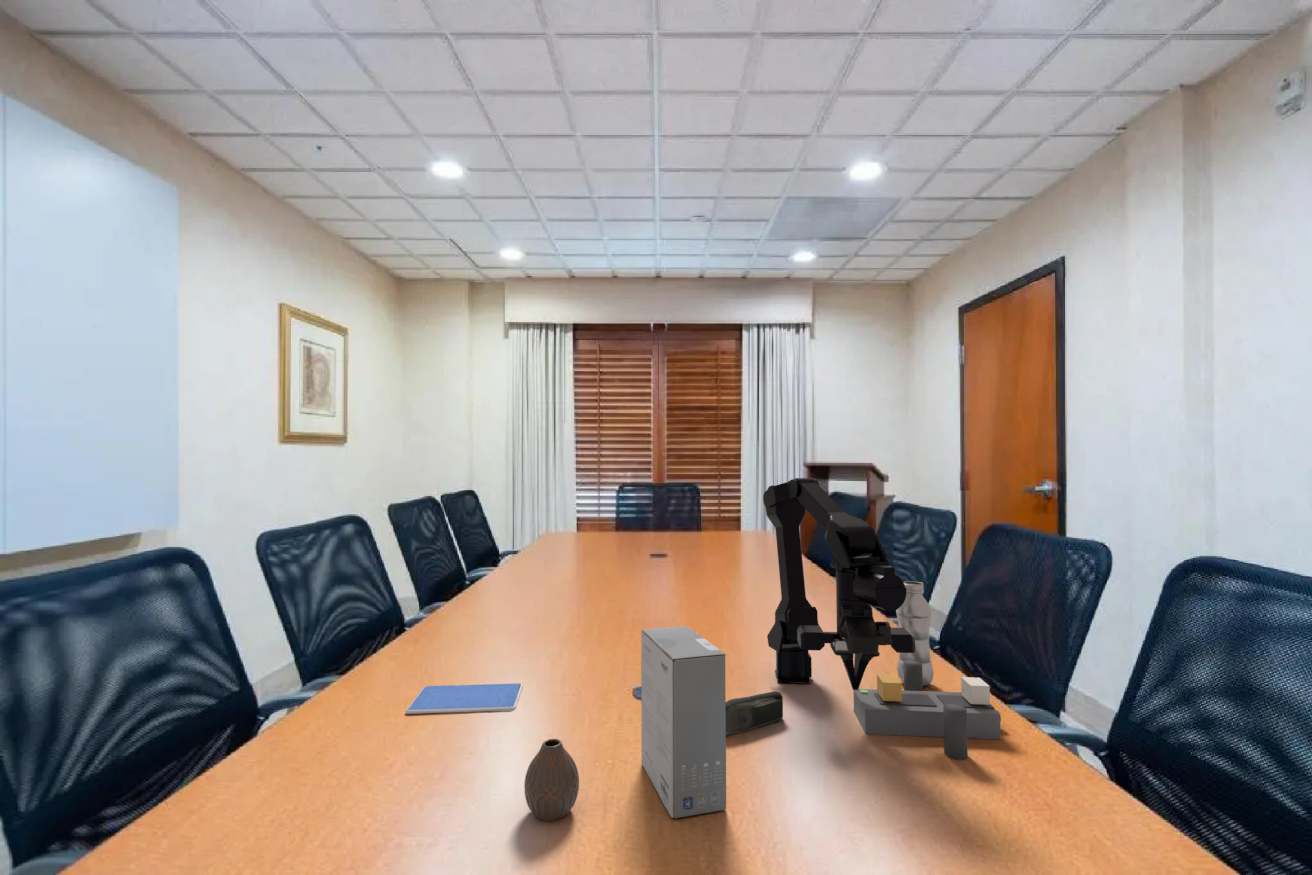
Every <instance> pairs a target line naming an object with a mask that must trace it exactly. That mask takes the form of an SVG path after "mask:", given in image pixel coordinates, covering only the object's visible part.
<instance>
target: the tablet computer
mask: <svg viewBox="0 0 1312 875" xmlns="http://www.w3.org/2000/svg"><path fill="white" fill-rule="evenodd" d="M523 689H524V684H522V683H518V682H517V683H492V684H491V683H490V684H487V683H486V684H457V685H456V684H454V685H452V684H451V685H426V686H423V688H422V689H421V690H420V692H419V693H418V694H417V696H416V697H415V698H414V700H412V703H410V704H409V706H408V707H407V708H406V711H405V713H406V714H408V715H416V714H417V715H418V714H444V713H445V714H446V713H447V714H449V713H450V714H452V713H454V714H455V713H477V712H481V713H483V712H512V711H515V710H516V709H517V707H518V704H519V701H520V698H521V694H522V693H523Z"/></svg>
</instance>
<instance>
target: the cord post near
mask: <svg viewBox="0 0 1312 875" xmlns="http://www.w3.org/2000/svg"><path fill="white" fill-rule="evenodd" d="M943 712H944V737H943V750H944V751H943V754H944V755H945V756H946V757H948V758H949V759H953V760H957V761H964V760H967V759H968V755H969V754H968V753H969V752H968V738H967V709H966V708H965V707H963V706H960V705H956V704H946V705H944V706H943Z"/></svg>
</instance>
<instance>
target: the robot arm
mask: <svg viewBox="0 0 1312 875" xmlns="http://www.w3.org/2000/svg"><path fill="white" fill-rule="evenodd" d="M762 497H763V498H762V500H763V505H764V507H765V513H766V517H767V518H768V520H769V521H770V522H771V524H772V525H773V527H774V530H775V537H776V548H777V559H778V560H777V561H778V572H779V573H778V574H779V582H780V593H781V595H780V596H781V599H780V601H779V604H778V606H777V608H776V609H775V612H774V624H773V626H772V627H771V629H770V630H769V632H768V633H767V636H766V637H767V643H768V647H769V648H771V649H773V650H774V651H775V669H774V673H775V677H776V680H777V681H776V682H777V683H780V684H781V683H784V684H811V678H812V672H813V670H812V656H811V654H810V653H809V651H821V650H822V649H824V647H825V644H829V645H830V648H831V650H832V652H833V654H834V655H836V656H840V659H841V660H842V663H843V665H844V668H845V671H846V674H847V677H848V679H849V683H850V685H851V690H853V691H854V690H858V689H860V685H861V683H862V680H863V677H864V674H865V671H866V668H868V664H869V663H870V661H872V659H874V658H877V657H880V655H881V654H880V652H879V649H880V648H879V646H890V648H891V649H893V651H895V652H896V653H897V654H899V653H914V652H915V640H914V637H913V636H912V635H911V634H910V633H908V632H907V631H906V630H905V629H904V628H899V627H891V624H890V622H889V621H875V619H874V616H873V613H874V612H873V607H875V608H879V609H881V610H884V611H888V612H893V611H896V610H897V609H898V608H900V607H901V606H902V605H903V603H904V601H905V598H906V593H907V591H906V587H905V585H904V581H903V579H902V578H901V577H900V576H898V575H896V568H895V567H894V566H891V565H890V562H889V560H888V558H887V557H888V555H887V553H886V552H885V550H884V548H883V547H882V544H881V542H880V540H879V537H878V535H877V533H876V531H875V529H874V528H873V526H871V525H870V524H869V523H867V522H866V521H865V520H863V519H862V518H860V517H859V518H858V517H856V516H854V515H850V514H848V513H847V512H846V511H844V510H843V509H842V507H840V505H839V504H837V502H836V501H835V500H834V499H833V498H832V497H831V496H830V495H829V494H828V493H827V492H826V491H825V490H824V489H823V488H822V487H821V486H820V484H819V481H818V480H817V479H816V478H814V477H795V478H793V479H790V480H788V481H787V482H786V481H785V482H784V483H783V482H782V483H780V484H777V485H769V486H768V488H767V490H765V491H764V493H763V496H762ZM806 512H807V513H809V515H810V516H811V517H812V518H813V519H814V520H815V521H816V523H817V524H818V525H819V526H820V527H821V528H822V530H823V531H824V533H825V535H824V542H825V544H826V545H827V546H828V548H829V551H830V552H831V553H832V555H833V556H834V557H835V558H834V559H833V560H831V562H830V563H829V567H831V568H833V569H835V582H836V583H835V584H836V585H835V592H836V596H835V597H836V598H835V599H836V600H835V602H836V631H823V629H822V627H821V625H820V624H819V619H818V618H819V616H818V609H817V608H816V606H813V605H812V604H811V603H810V602H809V600H808V599H807V595H806V586H805V583H806V582H805V574H804V573H805V572H804V564H803V550H802V544H801V543H802V541H801V540H802V539H801V530H800V526H801V524H802V522H803V520H804V518H805V516H806ZM872 606H873V607H872Z"/></svg>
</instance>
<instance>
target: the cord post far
mask: <svg viewBox="0 0 1312 875" xmlns="http://www.w3.org/2000/svg"><path fill="white" fill-rule="evenodd" d="M923 687H924V686H923V682H922V663H921V662H918V661H914V660H906V661H904V682H903V691H924V690H923V689H924V688H923Z"/></svg>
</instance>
